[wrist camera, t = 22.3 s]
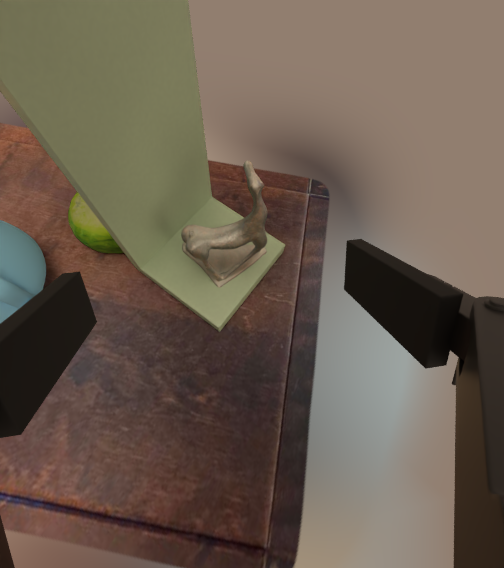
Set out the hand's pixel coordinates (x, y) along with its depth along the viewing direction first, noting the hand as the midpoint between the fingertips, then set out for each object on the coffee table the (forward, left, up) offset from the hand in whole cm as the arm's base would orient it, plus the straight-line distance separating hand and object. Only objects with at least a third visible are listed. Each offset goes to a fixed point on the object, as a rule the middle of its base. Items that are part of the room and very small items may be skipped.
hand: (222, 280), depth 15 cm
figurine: (+7, -8, -20) cm, 23 cm away
